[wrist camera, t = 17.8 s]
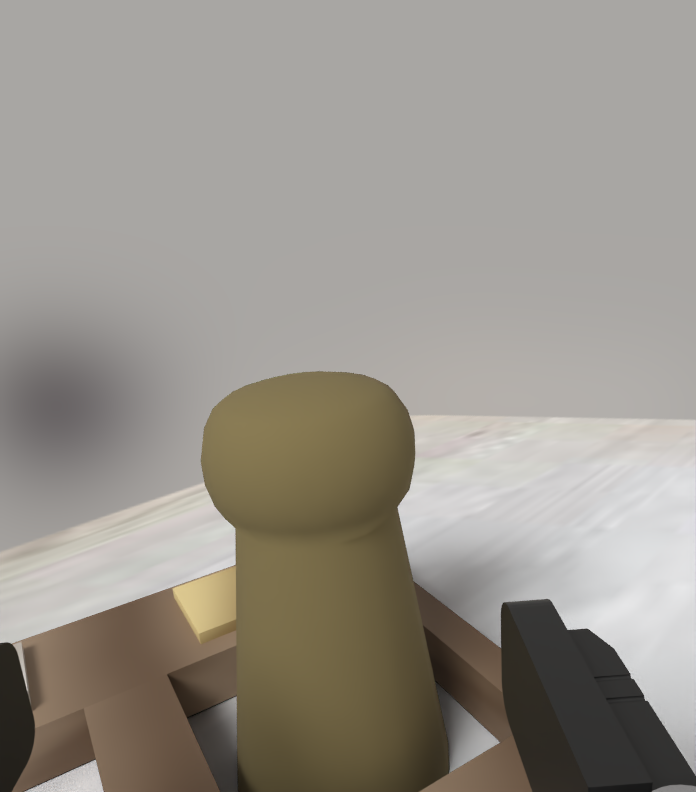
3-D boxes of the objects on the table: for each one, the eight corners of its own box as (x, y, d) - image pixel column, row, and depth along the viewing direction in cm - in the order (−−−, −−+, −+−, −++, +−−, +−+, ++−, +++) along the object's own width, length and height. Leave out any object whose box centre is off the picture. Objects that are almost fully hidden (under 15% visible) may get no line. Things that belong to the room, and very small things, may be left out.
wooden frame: (-595, 1700, 7) (-703, 1616, 7) (-243, 790, 19) (-270, 729, 18) (621, 800, 16) (624, 729, 16) (346, 564, 28) (342, 518, 27)
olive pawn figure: (429, 879, 15) (398, 426, 12) (196, 826, 17) (115, 421, 14) (462, 692, 20) (446, 350, 17) (284, 668, 22) (242, 354, 19)
